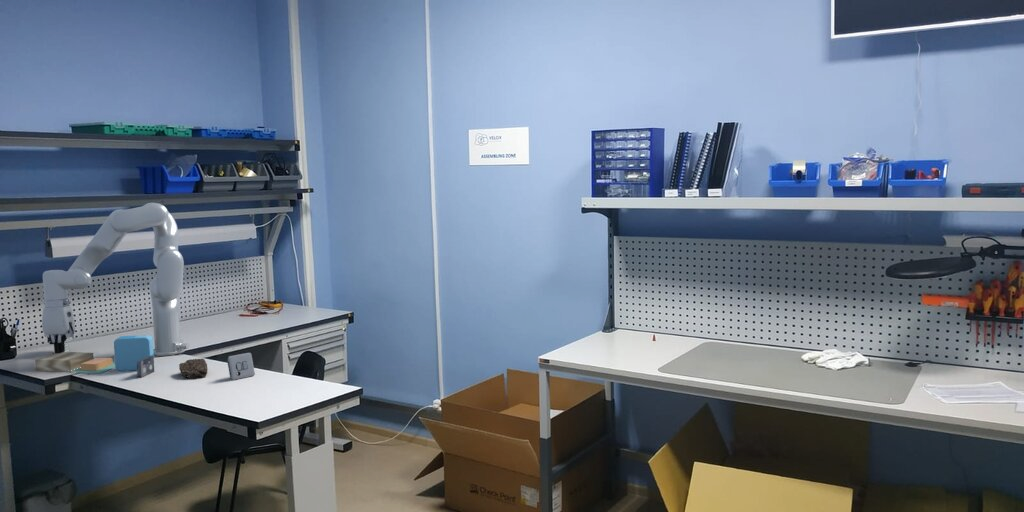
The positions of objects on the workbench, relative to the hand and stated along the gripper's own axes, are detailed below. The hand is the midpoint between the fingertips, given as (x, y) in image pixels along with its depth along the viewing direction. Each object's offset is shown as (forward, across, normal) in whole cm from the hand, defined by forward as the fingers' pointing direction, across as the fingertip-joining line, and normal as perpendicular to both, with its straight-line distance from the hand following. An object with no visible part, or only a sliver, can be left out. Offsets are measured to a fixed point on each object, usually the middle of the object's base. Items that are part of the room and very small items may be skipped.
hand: (59, 352), depth 271 cm
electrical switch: (+5, -74, +6) cm, 74 cm away
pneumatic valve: (+6, +15, -19) cm, 25 cm away
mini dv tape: (+6, -39, +7) cm, 40 cm away
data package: (+6, -30, 0) cm, 30 cm away
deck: (+5, -2, 0) cm, 6 cm away
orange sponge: (+3, -15, 0) cm, 15 cm away
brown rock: (+6, -56, +6) cm, 57 cm away
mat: (+5, -15, 0) cm, 16 cm away
